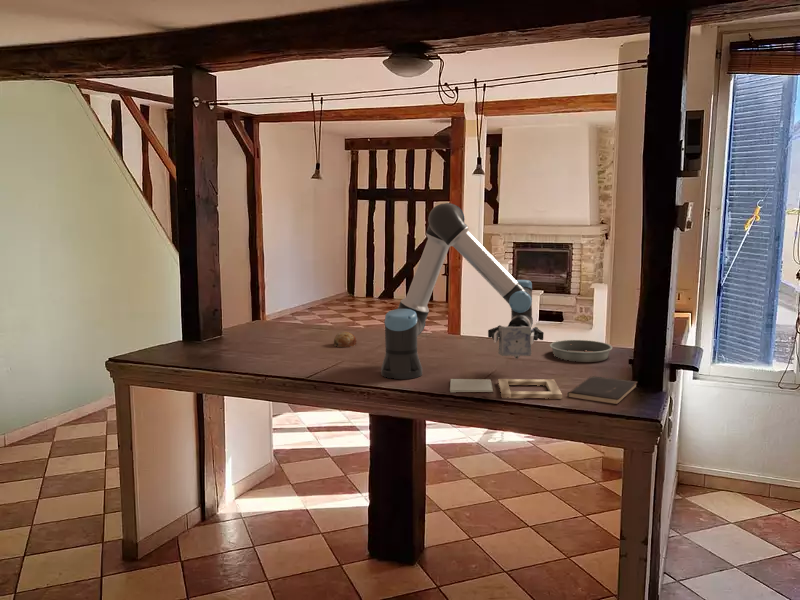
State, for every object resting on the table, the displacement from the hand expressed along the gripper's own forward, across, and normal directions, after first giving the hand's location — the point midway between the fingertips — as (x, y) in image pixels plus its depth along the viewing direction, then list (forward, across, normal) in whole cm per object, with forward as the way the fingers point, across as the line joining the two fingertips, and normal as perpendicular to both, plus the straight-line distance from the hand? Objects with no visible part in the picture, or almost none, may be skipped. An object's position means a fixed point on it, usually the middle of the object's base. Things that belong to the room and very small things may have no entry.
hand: (513, 339), depth 214 cm
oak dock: (-4, -5, -18) cm, 19 cm away
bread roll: (-60, +80, -19) cm, 102 cm away
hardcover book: (-8, -29, -18) cm, 35 cm away
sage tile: (-4, +14, -18) cm, 23 cm away
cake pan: (-59, -22, -18) cm, 66 cm away
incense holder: (-4, 0, -7) cm, 8 cm away
